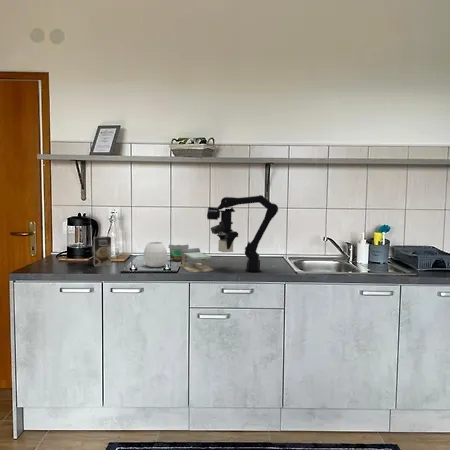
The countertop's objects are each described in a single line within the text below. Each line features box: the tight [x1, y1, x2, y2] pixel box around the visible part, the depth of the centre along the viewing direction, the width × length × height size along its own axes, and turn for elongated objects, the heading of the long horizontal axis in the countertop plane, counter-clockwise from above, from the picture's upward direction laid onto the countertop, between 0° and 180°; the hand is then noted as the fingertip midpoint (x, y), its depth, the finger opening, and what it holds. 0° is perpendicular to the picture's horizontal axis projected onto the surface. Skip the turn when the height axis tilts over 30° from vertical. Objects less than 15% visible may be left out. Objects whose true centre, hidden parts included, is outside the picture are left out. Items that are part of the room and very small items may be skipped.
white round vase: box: [143, 241, 168, 268], centre depth 266 cm, size 13×13×14 cm
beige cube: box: [218, 239, 234, 253], centre depth 258 cm, size 6×6×6 cm
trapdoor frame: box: [177, 252, 214, 273], centre depth 262 cm, size 13×20×8 cm
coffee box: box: [93, 236, 112, 267], centre depth 266 cm, size 9×6×16 cm
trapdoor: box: [181, 247, 212, 260], centre depth 262 cm, size 10×20×5 cm, turn 25°
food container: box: [167, 243, 190, 263], centre depth 284 cm, size 12×6×10 cm, turn 101°
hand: (225, 248), depth 259 cm, fingers closed on beige cube, 6 cm apart
